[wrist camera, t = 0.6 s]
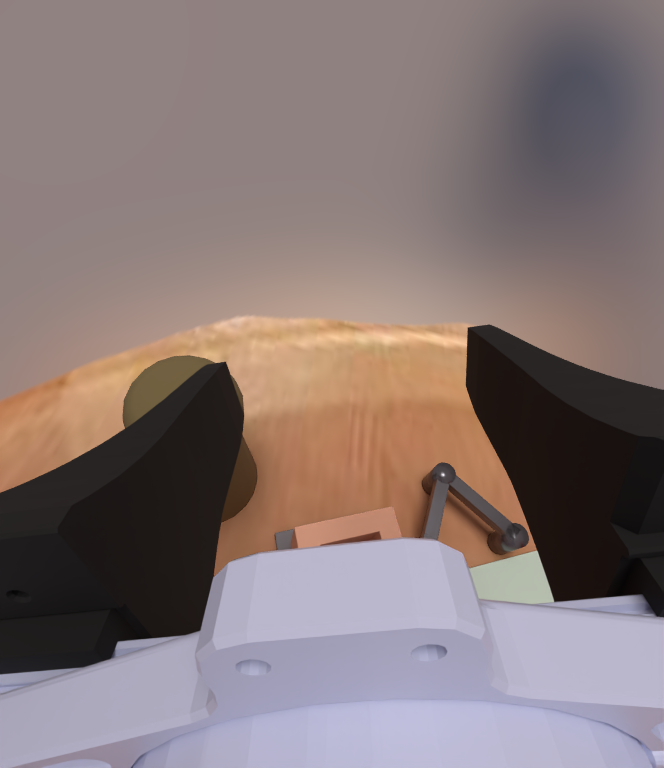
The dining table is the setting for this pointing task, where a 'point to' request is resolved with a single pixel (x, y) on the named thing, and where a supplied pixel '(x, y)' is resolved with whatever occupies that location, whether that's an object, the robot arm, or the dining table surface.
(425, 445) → the dining table surface
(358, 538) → the tan square ring block
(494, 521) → the grey v-shaped linkage
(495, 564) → the pad
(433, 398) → the dining table surface
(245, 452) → the olive green pawn
